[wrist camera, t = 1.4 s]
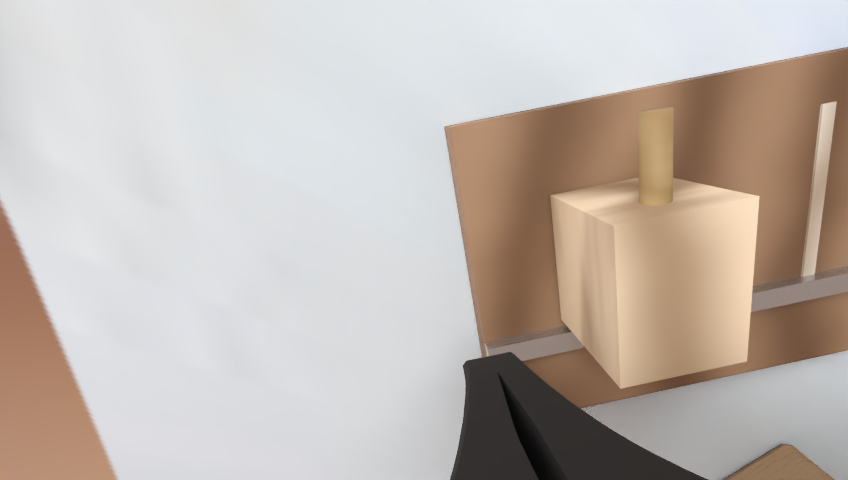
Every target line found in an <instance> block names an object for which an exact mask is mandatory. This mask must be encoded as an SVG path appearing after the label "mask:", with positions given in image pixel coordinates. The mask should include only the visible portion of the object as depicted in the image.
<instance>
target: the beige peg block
mask: <svg viewBox="0 0 848 480" xmlns="http://www.w3.org/2000/svg"><path fill="white" fill-rule="evenodd" d="M637 128H638V178H633V179H629V180H624V181H619V182H614V183H609V184H604V185H599V186H594V187H589V188H584V189H579V190H574V191H569V192H564V193H559V194H555V195H550V198H551V210H552V221H553V232H554V243H555V254H556V266H557V277H558V288H559V299H560V310H561V320H562V321H563V322H564V323H565V324H566V326H567V327H568V328H569V329H570V330H571V331H572V333H573V334H574V335H575V336H576V337H577V338H578V340H579V341H580V342H581V343H582V344H583V345H584V347H585V348H586V349H587V350H588V351H589V352H590V354H591V355H592V356H593V357H594V358H595V360H596V361H597V362H598V363H599V364H600V365H601V367H602V368H603V369H604V370H605V371H606V372H607V374H608V375H609V376H610V377H611V378H612V379H613V381H614V382H615V383H616V384H617V385H618V386H619V388H620V389H622V388H626V387H631V386H636V385H640V384H645V383H650V382H654V381H659V380H663V379H668V378H673V377H677V376H682V375H687V374H691V373H696V372H700V371H705V370H710V369H714V368H719V367H724V366H728V365H733V364H737V363H742V362H747V355H748V342H749V328H750V315H751V302H752V289H753V276H754V263H755V249H756V236H757V223H758V210H759V197H760V196H756V195H751V194H747V193H742V192H737V191H733V190H728V189H723V188H718V187H714V186H709V185H704V184H700V183H695V182H690V181H686V180H681V179H676V178H673V128H674V107H664V108H656V109H650V110H645V111H640V112H637Z"/></svg>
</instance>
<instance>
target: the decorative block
mask: <svg viewBox="0 0 848 480" xmlns="http://www.w3.org/2000/svg"><path fill="white" fill-rule="evenodd" d="M724 480H834V479H833V478H832V477H830V476H829V475H828V474H827V473H825V472H824V471H823V470H822V469H821V468H819V467H818V466H817V465H816V464H814V463H813V462H812V461H811V460H809V459H808V458H807V457H806V456H805V455H803V454H802V453H801V452H800V451H798V450H797V449H796V448H795V447H793V446H792V445H785V444H781V445H779V446H777V447H776V448H774V449H773V450H771V451H769V452H768V453H766V454H765V455H763V456H761V457H760V458H758V459H757V460H755V461H753V462H752V463H750V464H748V465H747V466H745V467H744V468H742V469H740V470H739V471H737V472H736V473H734V474H732V475H731V476H729V477H727V478H726V479H724Z"/></svg>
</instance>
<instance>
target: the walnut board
mask: <svg viewBox="0 0 848 480" xmlns="http://www.w3.org/2000/svg"><path fill="white" fill-rule="evenodd" d="M664 107H674V128H673V178H676V179H681V180H686V181H690V182H695V183H700V184H704V185H709V186H714V187H718V188H723V189H728V190H733V191H737V192H742V193H747V194H751V195H756V196H760V197H759V210H758V223H757V236H756V249H755V263H754V276H753V286H755V285H760V284H764V283H769V282H774V281H779V280H783V279H788V278H793V277H797V276H808V275H813V274H815V273H816V272H821V271H826V270H831V269H835V268H840V267H845V266H848V47H846V48H841V49H836V50H831V51H826V52H821V53H815V54H810V55H805V56H800V57H795V58H790V59H785V60H780V61H775V62H770V63H765V64H760V65H755V66H749V67H744V68H739V69H734V70H729V71H724V72H719V73H714V74H709V75H704V76H699V77H694V78H689V79H684V80H678V81H673V82H668V83H663V84H658V85H653V86H648V87H643V88H638V89H633V90H628V91H623V92H618V93H612V94H607V95H602V96H597V97H592V98H587V99H582V100H577V101H572V102H567V103H562V104H557V105H552V106H547V107H541V108H536V109H531V110H526V111H521V112H516V113H511V114H506V115H501V116H496V117H491V118H486V119H481V120H476V121H470V122H465V123H460V124H455V125H450V126H445V133H446V139H447V145H448V151H449V157H450V164H451V170H452V176H453V182H454V188H455V194H456V200H457V206H458V212H459V218H460V225H461V231H462V237H463V243H464V249H465V255H466V261H467V267H468V273H469V280H470V286H471V292H472V298H473V304H474V310H475V316H476V322H477V328H478V334H479V341H480V347H481V353H482V358H483V357H487V354H486V347H485V342H490V341H495V340H499V339H504V338H509V337H514V336H518V335H523V334H528V333H532V332H537V331H542V330H547V329H551V328H556V327H561V326H566V324H565V323H564V322H563V321H562V320H561V310H560V299H559V288H558V277H557V266H556V254H555V243H554V232H553V221H552V210H551V198H550V195H555V194H559V193H564V192H569V191H574V190H579V189H584V188H589V187H594V186H599V185H604V184H609V183H614V182H619V181H624V180H629V179H633V178H638V128H637V112H640V111H645V110H650V109H656V108H664ZM846 350H848V292H844V293H839V294H835V295H830V296H825V297H821V298H816V299H811V300H806V301H802V302H797V303H792V304H788V305H783V306H778V307H774V308H769V309H764V310H760V311H755V312H751V315H750V328H749V342H748V355H747V362H742V363H737V364H733V365H728V366H724V367H719V368H714V369H710V370H705V371H700V372H696V373H691V374H687V375H682V376H677V377H673V378H668V379H663V380H659V381H654V382H650V383H645V384H640V385H636V386H631V387H626V388H622V389H620V388H619V386H618V385H617V384H616V383H615V382H614V381H613V379H612V378H611V377H610V376H609V375H608V374H607V372H606V371H605V370H604V369H603V368H602V367H601V365H600V364H599V363H598V362H597V361H596V360H595V358H594V357H593V356H592V355H591V354H590V352H589V351H588V350H587V349H586V348H581V349H576V350H572V351H567V352H562V353H558V354H553V355H548V356H544V357H539V358H534V359H530V360H525V361H522V362H523V363H524V364H525V365H527V366H528V367H529V368H530V369H531V370H532V371H533V372H534V373H536V374H537V375H538V376H539V377H540V378H541V379H543V380H544V381H545V382H546V383H547V384H549V385H550V386H551V387H552V388H554V389H555V390H556V391H558V392H559V393H560V394H561V395H563V396H564V397H565V398H566V399H568V400H569V401H570V402H572V403H573V404H574V405H576V406H577V407H579V408H584V407H588V406H593V405H597V404H602V403H607V402H611V401H616V400H621V399H625V398H630V397H634V396H639V395H644V394H648V393H653V392H657V391H662V390H667V389H671V388H676V387H680V386H685V385H690V384H694V383H699V382H703V381H708V380H713V379H717V378H722V377H727V376H731V375H736V374H740V373H745V372H750V371H754V370H759V369H763V368H768V367H773V366H777V365H782V364H786V363H791V362H796V361H800V360H805V359H810V358H814V357H819V356H823V355H828V354H833V353H837V352H842V351H846Z"/></svg>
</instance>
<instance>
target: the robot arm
mask: <svg viewBox="0 0 848 480" xmlns="http://www.w3.org/2000/svg"><path fill="white" fill-rule="evenodd" d="M463 369H464V374H465V380H466V395H465V407H464V417H463V424H462V429H461V435H460V441H459V446H458V451H457V455H456V460H455V464H454V468H453V471H452V475H451V479H450V480H707V479H705V478H703V477H701V476H699V475H696V474H694V473H692V472H690V471H688V470H685V469H683V468H681V467H679V466H677V465H675V464H673V463H671V462H669V461H667V460H665V459H663V458H661V457H659V456H657V455H655V454H653V453H651V452H649V451H648V450H646V449H644V448H642V447H640V446H638V445H637V444H635V443H633V442H631V441H630V440H628V439H626V438H625V437H623V436H621V435H619V434H618V433H616V432H614V431H613V430H611V429H610V428H608V427H606V426H605V425H603V424H602V423H600V422H599V421H597V420H596V419H594V418H593V417H591V416H590V415H589V414H587V413H586V412H584V411H583V410H581V409H580V408H579V407H577V406H576V405H574V404H573V403H572V402H570V401H569V400H568V399H566V398H565V397H564V396H563V395H561V394H560V393H559V392H558V391H556V390H555V389H554V388H552V387H551V386H550V385H549V384H547V383H546V382H545V381H544V380H543V379H541V378H540V377H539V376H538V375H537V374H536V373H534V372H533V371H532V370H531V369H530V368H529V367H528V366H527V365H525V364H524V363H523V362H522V361H521V360H520V359H519V358H518V357H517V356H516V355H515V354H513V353H512V352H506V353H502V354H497V355H492V356H488V357H483V358H478V359H473V360H469V361H466V362H465V363H464V365H463Z"/></svg>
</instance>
